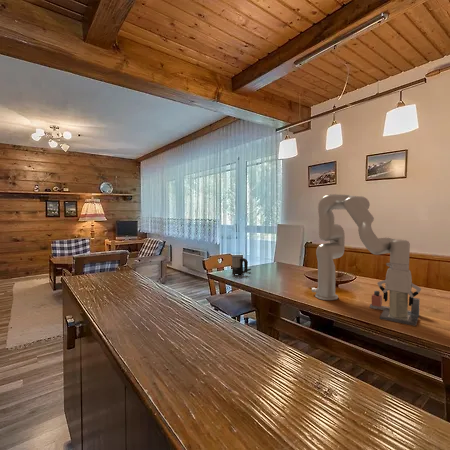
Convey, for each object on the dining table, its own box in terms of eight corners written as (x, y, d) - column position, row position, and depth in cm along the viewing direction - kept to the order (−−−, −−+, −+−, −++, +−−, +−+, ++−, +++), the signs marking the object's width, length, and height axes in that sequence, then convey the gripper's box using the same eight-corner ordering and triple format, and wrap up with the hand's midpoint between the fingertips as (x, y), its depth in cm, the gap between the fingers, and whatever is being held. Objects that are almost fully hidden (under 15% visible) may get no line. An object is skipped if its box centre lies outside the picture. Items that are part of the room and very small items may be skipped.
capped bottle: (371, 305, 145) (371, 291, 145) (373, 303, 148) (373, 289, 148) (380, 306, 142) (380, 293, 142) (381, 304, 146) (382, 291, 145)
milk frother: (230, 275, 226) (230, 256, 225) (235, 271, 241) (235, 253, 240) (247, 276, 221) (247, 257, 221) (252, 271, 236) (251, 254, 236)
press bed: (379, 318, 132) (379, 315, 131) (383, 312, 139) (383, 309, 139) (415, 326, 123) (415, 322, 123) (418, 318, 130) (418, 316, 130)
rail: (369, 307, 146) (369, 292, 146) (370, 306, 148) (371, 291, 148) (418, 317, 133) (419, 300, 132) (419, 315, 135) (419, 298, 135)
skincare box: (401, 313, 133) (402, 288, 133) (408, 317, 129) (408, 291, 128) (388, 314, 133) (389, 288, 133) (394, 317, 129) (395, 291, 128)
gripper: (376, 265, 132) (375, 301, 134) (421, 270, 122) (419, 309, 123) (379, 263, 138) (378, 297, 139) (422, 267, 127) (421, 304, 129)
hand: (397, 302), depth 131 cm, fingers open, 9 cm apart
